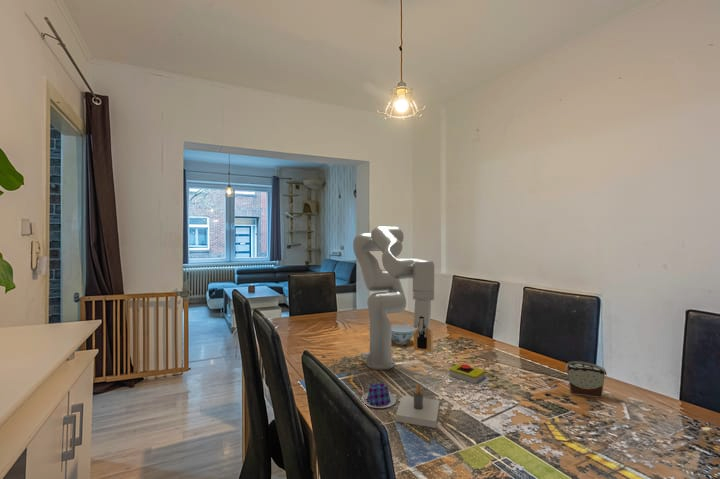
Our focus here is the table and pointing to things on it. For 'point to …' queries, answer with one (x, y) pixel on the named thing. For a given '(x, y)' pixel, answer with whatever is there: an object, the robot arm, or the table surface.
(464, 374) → the emergency button
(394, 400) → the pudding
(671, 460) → the table surface
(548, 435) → the table surface
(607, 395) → the table surface
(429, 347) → the tan wooden cube
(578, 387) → the food container
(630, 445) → the table surface
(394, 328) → the chinaware
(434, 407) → the board
